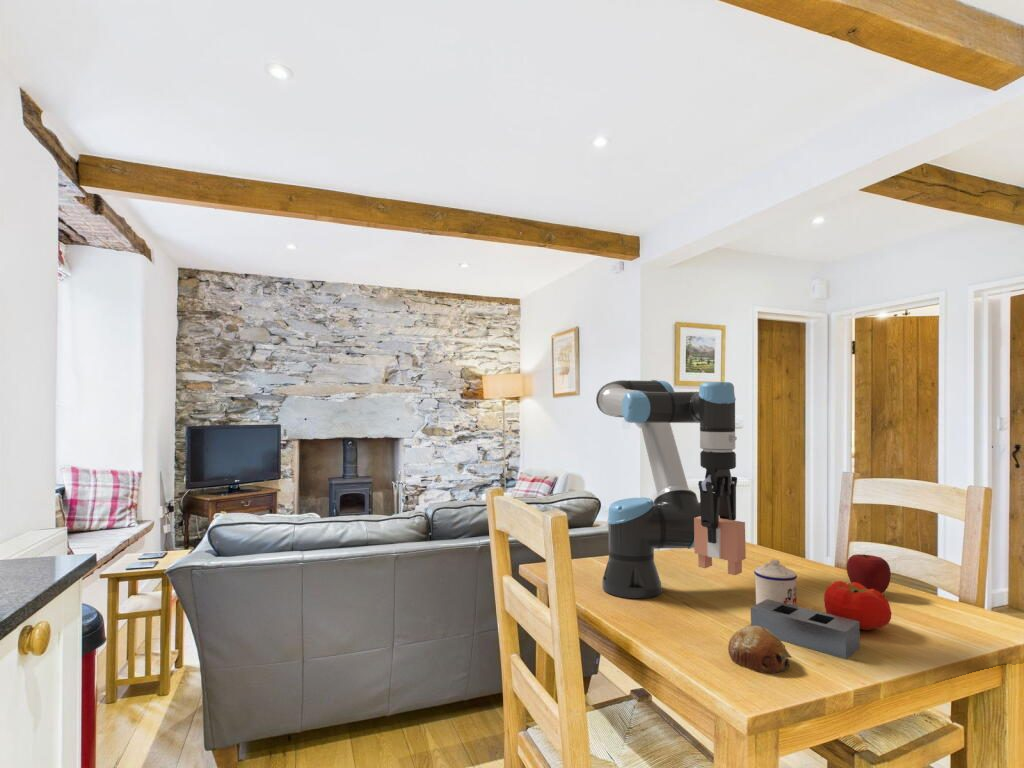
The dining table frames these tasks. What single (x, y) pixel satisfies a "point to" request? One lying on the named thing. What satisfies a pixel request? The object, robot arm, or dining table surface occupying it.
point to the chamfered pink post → (722, 544)
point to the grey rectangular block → (808, 627)
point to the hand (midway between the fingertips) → (719, 555)
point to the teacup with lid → (775, 583)
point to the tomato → (857, 604)
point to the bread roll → (758, 650)
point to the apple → (869, 571)
